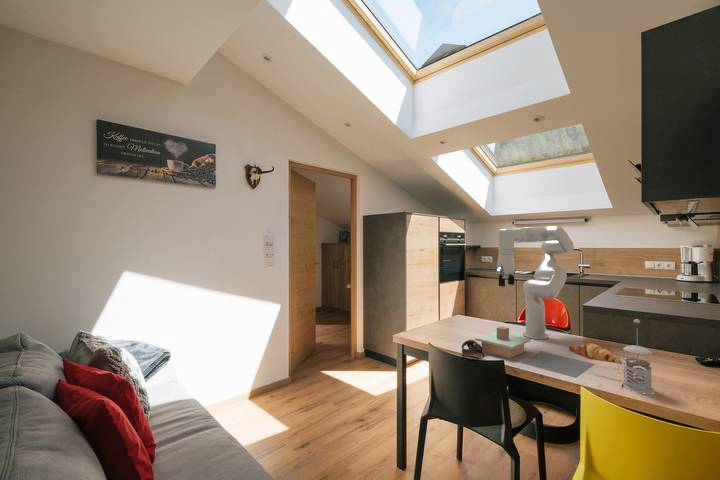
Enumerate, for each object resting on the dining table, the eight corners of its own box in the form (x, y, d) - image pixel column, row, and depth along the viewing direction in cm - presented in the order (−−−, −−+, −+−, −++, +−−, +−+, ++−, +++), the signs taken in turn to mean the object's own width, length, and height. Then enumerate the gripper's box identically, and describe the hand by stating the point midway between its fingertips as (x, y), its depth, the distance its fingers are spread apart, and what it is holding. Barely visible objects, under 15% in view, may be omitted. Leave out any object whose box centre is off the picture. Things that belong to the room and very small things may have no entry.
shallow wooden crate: (496, 346, 172) (496, 334, 172) (524, 353, 162) (524, 340, 162) (481, 352, 163) (481, 340, 163) (510, 360, 153) (509, 347, 153)
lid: (494, 333, 175) (494, 321, 175) (530, 341, 161) (530, 328, 161) (475, 340, 164) (475, 327, 164) (512, 349, 150) (512, 335, 150)
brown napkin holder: (488, 360, 155) (481, 345, 153) (469, 368, 156) (462, 354, 154) (479, 345, 167) (473, 332, 165) (462, 353, 168) (455, 340, 166)
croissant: (624, 372, 147) (627, 354, 149) (615, 365, 142) (619, 347, 144) (571, 357, 165) (575, 341, 167) (562, 351, 160) (566, 334, 162)
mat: (540, 353, 162) (540, 351, 162) (595, 366, 145) (595, 363, 145) (519, 364, 148) (519, 362, 148) (576, 380, 131) (576, 377, 131)
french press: (645, 396, 117) (644, 323, 117) (609, 383, 127) (608, 316, 127) (661, 391, 121) (661, 320, 121) (625, 379, 131) (624, 314, 131)
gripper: (507, 251, 186) (507, 283, 186) (490, 252, 175) (491, 286, 175) (521, 252, 180) (521, 284, 180) (504, 253, 169) (505, 287, 169)
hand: (506, 285), depth 177 cm, fingers open, 9 cm apart
